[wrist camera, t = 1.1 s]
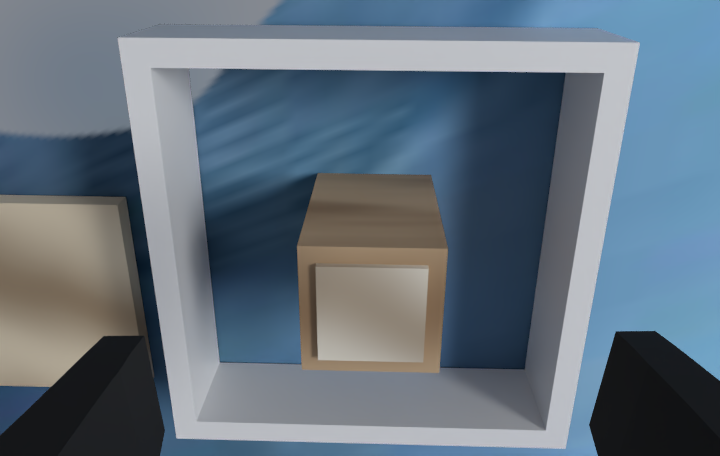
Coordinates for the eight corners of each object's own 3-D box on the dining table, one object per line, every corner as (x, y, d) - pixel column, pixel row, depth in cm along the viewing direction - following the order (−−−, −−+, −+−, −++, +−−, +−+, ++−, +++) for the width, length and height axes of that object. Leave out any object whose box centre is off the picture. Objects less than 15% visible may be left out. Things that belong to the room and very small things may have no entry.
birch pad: (154, 376, 26) (147, 389, 25) (-35, 372, 26) (-47, 384, 25) (125, 196, 22) (117, 204, 22) (-91, 193, 23) (-106, 201, 22)
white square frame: (542, 386, 25) (565, 448, 22) (202, 377, 26) (176, 438, 22) (597, 28, 20) (639, 42, 16) (159, 24, 20) (117, 37, 17)
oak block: (425, 274, 23) (440, 377, 18) (320, 273, 23) (301, 374, 18) (431, 175, 22) (448, 252, 16) (317, 173, 22) (296, 249, 16)
